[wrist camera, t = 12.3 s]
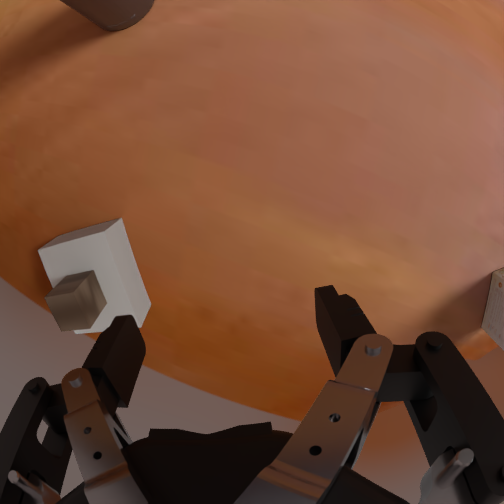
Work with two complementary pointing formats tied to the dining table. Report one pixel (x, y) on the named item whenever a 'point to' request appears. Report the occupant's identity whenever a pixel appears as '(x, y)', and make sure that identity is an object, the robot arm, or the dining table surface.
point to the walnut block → (76, 301)
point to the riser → (100, 269)
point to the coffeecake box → (495, 309)
